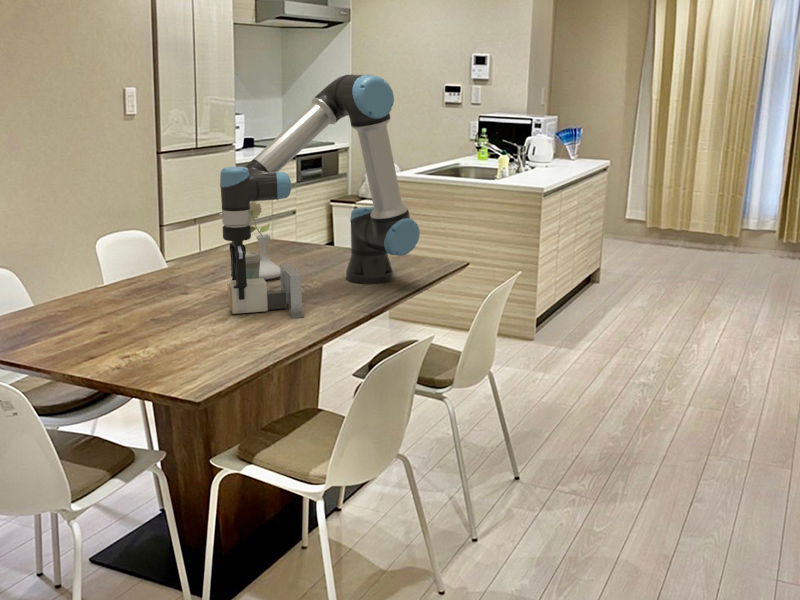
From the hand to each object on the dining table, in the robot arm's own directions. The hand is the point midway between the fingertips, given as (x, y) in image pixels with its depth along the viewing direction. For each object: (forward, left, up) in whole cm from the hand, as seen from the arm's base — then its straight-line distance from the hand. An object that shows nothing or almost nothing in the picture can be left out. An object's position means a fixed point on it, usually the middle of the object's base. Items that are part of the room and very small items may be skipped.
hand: (240, 307), depth 246 cm
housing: (-14, 0, -1) cm, 14 cm away
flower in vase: (-12, -38, -2) cm, 40 cm away
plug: (-5, 0, -1) cm, 5 cm away
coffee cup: (-5, -20, -2) cm, 21 cm away
